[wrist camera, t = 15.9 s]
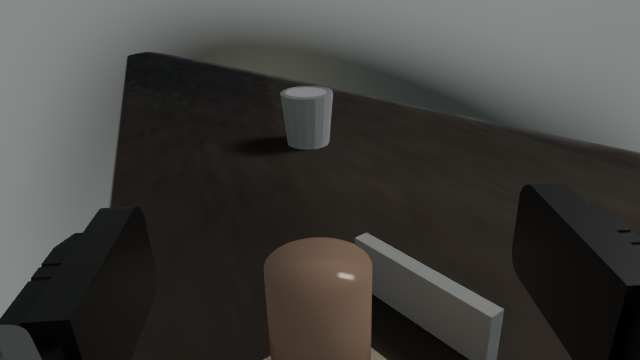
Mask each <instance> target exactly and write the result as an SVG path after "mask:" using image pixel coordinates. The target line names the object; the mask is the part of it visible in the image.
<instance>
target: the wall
mask: <svg viewBox="0 0 640 360" xmlns="http://www.w3.org/2000/svg"><path fill="white" fill-rule="evenodd" d="M355 245H356V246H358V247H360V248H361V249H363V250H364V251H365V252H366V253H367V254H368V255H369V257H370V259H371V261H372V294H373V295H375V296H376V297H378V298H379V299H381V300H382V301H383V302H385V303H386V304H388V305H389V306H391V307H392V308H394V309H395V310H397V311H398V312H400V313H401V314H403V315H404V316H406V317H407V318H409V319H410V320H412V321H413V322H415V323H416V324H417V325H419V326H420V327H422V328H423V329H425V330H426V331H428V332H429V333H431V334H432V335H434V336H435V337H437V338H438V339H440V340H441V341H443V342H444V343H446V344H447V345H449V346H450V347H452V348H453V349H454V350H456V351H457V352H459V353H460V354H462V355H463V356H465V357H466V358H468V359H469V360H496V359H497V352H498V346H499V339H500V333H501V326H502V319H503V313H504V309H502V308H501V307H499V306H497V305H495V304H493V303H492V302H490V301H488V300H486V299H484V298H483V297H481V296H479V295H477V294H476V293H474V292H472V291H470V290H468V289H467V288H465V287H463V286H461V285H459V284H458V283H456V282H454V281H452V280H450V279H449V278H447V277H445V276H443V275H442V274H440V273H438V272H436V271H434V270H433V269H431V268H429V267H427V266H425V265H424V264H422V263H420V262H418V261H417V260H415V259H413V258H411V257H409V256H408V255H406V254H404V253H402V252H400V251H399V250H397V249H395V248H393V247H391V246H390V245H388V244H386V243H384V242H383V241H381V240H379V239H377V238H375V237H374V236H372V235H370V234H368V233H365V234H362V235H360V236H358V237H356V238H355Z"/></svg>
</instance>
